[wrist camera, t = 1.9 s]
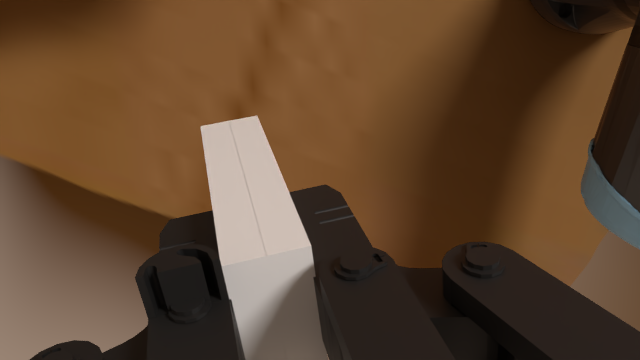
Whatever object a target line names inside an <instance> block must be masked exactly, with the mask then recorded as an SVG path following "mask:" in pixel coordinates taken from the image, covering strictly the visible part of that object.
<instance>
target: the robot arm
mask: <svg viewBox="0 0 640 360" xmlns="http://www.w3.org/2000/svg"><path fill="white" fill-rule="evenodd" d="M530 1H531V3H532V5H533V6H534V8H535V9H536V10H537V12H538V13H539V14H540V15H541V16H542V17H543V18H544V19H546V20H547V21H548V22H550V23H551V24H553V25H555V26H557V27H559V28H562V29H565V30H569V31H574V32H578V33H583V34H604V33H609V32H613V31H617V30H621V29H625V28H629V27H633V26H634V27H633V30H632V32H631V35H630V38H629V41H628V43H627V46H626V49H625V51H624V54H623V57H622V60H621V63H620V66H619V69H618V71H617V74H616V77H615V80H614V83H613V86H612V89H611V92H610V94H609V97H608V100H607V103H606V106H605V109H604V112H603V114H602V117H601V120H600V123H599V126H598V129H597V132H596V134H595V137H594V138H593V139H592V140H591V142H590V144H589V147H588V161H587V164H586V167H585V171H584V174H583V178H582V181H581V194H582V196H583V198H584V201H585V205H586V207H587V208H588V210H589V211H590V212H591V214H592V215H593V216H594V217H595V218H596V219H597V220H598V221H599V222H600V223H601V224H602V225H603V226H605V227H606V228H607V229H608V230H610V231H611V232H612V233H614V234H615V235H617V236H618V237H620V238H621V239H623V240H624V241H626V242H628V243H629V244H631V245H633V246H634V247H636V248H638V249H640V0H530ZM201 133H202V140H203V147H204V153H205V160H206V167H207V174H208V181H209V188H210V195H211V202H212V209H213V211H208V212H203V213H199V214H194V215H189V216H185V217H180V218H176V219H171V220H169V222H168V223H167V224H166V226H165V227H164V229H163V230H162V232H161V233H160V246H159V248H160V251H159V253H157V254H156V255H154V256H152V257H150V258H149V259H148V260H147V261H146V262H145V263H144V264H143V265H142V266H140V267H139V270H138V272H137V274H136V277H135V279H136V282H137V285H138V288H139V291H140V294H141V298H142V300H143V303H144V307H145V310H146V313H147V316H148V326H147V327H146V328H145V329H144V330H143V331H141V332H140V333H139V334H137V335H136V336H135V337H133V338H131V339H129V340H128V341H126V342H124V343H123V344H121V345H118V346H116V347H114V348H112V349H110V350H108V351H106V352H104V353H102V352H101V350H100V348H99V347H98V346H97V345H95V344H93V343H91V342H89V341H75V340H74V341H69V342H65V343H60V344H56V345H54V346H52V347H50V348H48V349H46V350H43V351H41V352H39V353H38V354H37V355H35V356H34V357H33V358H31V359H30V360H328V358H327V354H328V357H329V359H330V360H640V332H639V331H638V330H636V329H635V328H633V327H631V326H630V325H629V324H627V323H625V322H624V321H622V320H621V319H619V318H618V317H616V316H615V315H613V314H611V313H610V312H608V311H607V310H605V309H603V308H602V307H600V306H599V305H597V304H595V303H594V302H593V301H591V300H590V299H588V298H586V297H585V296H583V295H581V294H580V293H578V292H577V291H575V290H574V289H572V288H571V287H569V286H568V285H566V284H565V283H563V282H561V281H560V280H558V279H557V278H555V277H554V276H552V275H550V274H549V273H547V272H546V271H544V270H543V269H541V268H540V267H538V266H536V265H535V264H533V263H532V262H530V261H529V260H527V259H525V258H524V257H522V256H521V255H519V254H518V253H516V252H515V251H513V250H511V249H509V248H506V247H504V246H502V245H499V244H494V243H488V242H469V243H466V244H462V245H458V246H456V247H454V248H453V249H451V250H450V251H448V252H447V253H446V255H445V256H444V258H443V260H442V268H406V267H401V266H397V265H396V263H395V262H394V260H393V259H392V258H391V257H390V256H389V255H388V254H387V253H386V252H384V251H381V250H379V249H376V248H373V247H372V245H371V243H370V242H369V240H368V238H367V237H366V235H365V233H364V232H363V230H362V228H361V226H360V225H359V223H358V221H357V220H356V218H355V216H353V213H352V211H351V210H350V208H349V207H348V205H347V203H346V201H345V199H344V198H343V196H342V194H341V193H340V192H338V191H336V190H335V189H333V188H331V187H329V186H327V185H321V186H317V187H312V188H307V189H303V190H298V191H293V192H289V191H288V189H287V186H286V184H285V181H284V179H283V177H282V174H281V172H280V169H279V167H278V165H277V162H276V160H275V157H274V155H273V153H272V150H271V148H270V145H269V143H268V141H267V138H266V136H265V133H264V131H263V129H262V126H261V124H260V121H259V119H258V117H257V116H252V117H247V118H242V119H236V120H231V121H226V122H221V123H215V124H210V125H205V126H201Z"/></svg>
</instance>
